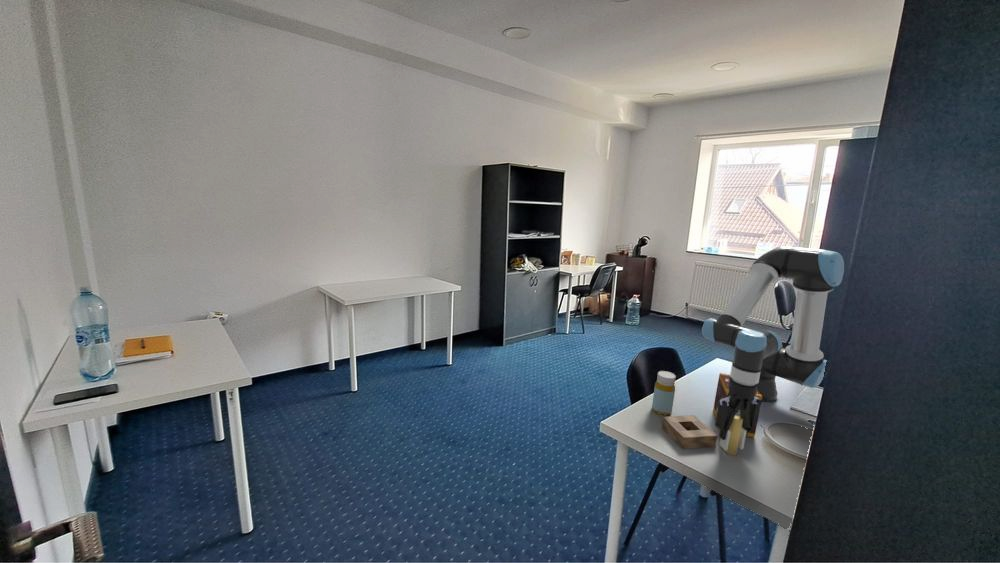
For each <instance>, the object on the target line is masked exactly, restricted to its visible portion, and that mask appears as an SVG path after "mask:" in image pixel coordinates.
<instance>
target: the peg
mask: <svg viewBox="0 0 1000 563" xmlns="http://www.w3.org/2000/svg"><path fill="white" fill-rule="evenodd" d="M742 422H743V419H742V418H741V417H739V416H735V417H734V419H733V421H732V424H731V426H730V428H729V431H730V432H731V433H730V439H729V444H728V450H724V449H723V450H724V452H725V453H726V454H728V455H731V456H736V455H737V451H738V448H739V447H738V443H739V438H740V432H741V427H742Z"/></svg>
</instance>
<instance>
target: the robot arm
mask: <svg viewBox="0 0 1000 563" xmlns="http://www.w3.org/2000/svg"><path fill="white" fill-rule="evenodd" d="M748 272H749V273H748V275H747V276H746V278H745V279H744V280H743V282H742V284H741V285H740V286H739V288H737V290H736V292H735V293H734V295H733V296H732V298H731V299H730V300H729V301H728V303H727V305H726V306H725V307H724V309H722V311H721V313H720V314H719V315H718V317H716V318H712V317H711V318H710V317H709V318H708V319H706V320H705V321H704V322H703V325H702V328H701V334H702V336H703V338H705V339H707V340H708V341H711V342H714V343H718V344H721V345H724V346H727V347H731V348H734V350H733V357H732V362H731V367H730V368H731V369H730V373H729V375H730V378H729V384H728V390H729V393H728V395H727V397H726V398H724V399H722V398H719V399H718V403H719V406H718V412H717V417H716V416H715V418H716V419H715V422H714V423H715V424H714V425H715V426H716V427H717V428H718V429H719V435H718V436H719V438H720V439H719V446H720V447H721V448H722V449H723V450H728V444H729V439H730V433H731V432H730V431H729V428H730V426H731V424H732V421H733V419H734V417H735V414H736V413H738V411H739V409H740V417H741V418H742V419H743V422H742V427H741V432H740V438H739V443H738V448H739V449H740V450H744V448H745V447H744V446H745V443H746V442H745V441H746V439H747V437H748V436H747V434H748V431H749V432H751V431H752V429H751V428H755V426H756V420H757V415H758V410H759V406H760V404H761V405H762V402H773V401H776V400H777V398H778V390H777V385H776V384H777V383H776V377H778V378H781V379H784V380H787V381H790V382H793V383H796V384H798V385H800V386H805V387H808V388H811V389H815V388H817V387H819V385H820V384H821V382H822V381H823V379H824V378H823V377H825V376H824V372H825V366H826V362H827V361H828V360H827V359H824V352H823V351H821V350H820V347H821V346H820V345H821V340H822V334H823V333H822V332H823V327H824V319H825V313H826V307H827V300H828V293H830V292H832V291H834V290H835V287H838V286H840V284H841V283H842V281H843V276H844V274H845V261H844V258H843V256H842V254H841V253H839V252H838V251H832V250H828V249H827V250H826V249H820V248H809V247H798V246H791V245H790V246H789V245H788V246H787V245H785V246H780V247H776V248H773V249H771V250H769V251H767V252H766V253H763V254H762V255H761V256H759V257H758V258H757V259H756V260H755V261H753V263H752V264H751V266H750V267H749V270H748ZM780 278H784V279H788V280H792V287H793V288H794V289H795V290H796V295H795V296H796V297H795V305H794V306H795V307H794V313H793V320H792V321H793V323H792V330H791V331H792V332H791V340H790V344H789V345H787V346H786V347H783V342H782V341H783V340H782V338H781V337H780V335H779V334H778V333H776V332H774V331H772V330H762V331H759V330H756V329H752V328H748V327H744V326H743V325H744V323H745V322H746V320H747V319H748V317H749V316H750V314H752V311H754V309H755V307H756V306H757V304H759V302H760V300H762V297H763V295H764V294H765V293H766V291H768V289H769V287H770V286H771V285H772V284H773V283H776V282H777V281H778V280H779V279H780ZM757 390H758V391H759V393H760V394H761V396H762V400H760V399H759V398H757V397H756V396H755V395H756V392H757ZM760 407H761V406H760Z"/></svg>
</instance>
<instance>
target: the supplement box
mask: <svg viewBox="0 0 1000 563" xmlns="http://www.w3.org/2000/svg"><path fill="white" fill-rule="evenodd" d="M729 378H730V373H729V374H728V373H722V372H719V375H718V381H717V387H716V391H715V398H714V402H713V414H714V415H715V418H716V417H717V412H718V406H719V403H718V399H719V398H722V399H724V398H726V397H727V395H728V393H729V390H728V384H729ZM755 396H756V397H757V398H759V399H760V400H762V396H761V394H760V393H759V391H758V390H757V392H756V395H755ZM761 405H762V403H761V404H760V406H759V410H758V415H757V420H756V426H755V428H751V429H752V431H751V432H749V431H748V434H747V437H749V438H755V437H756V431H757V425H758V422H759V415H760V412H761V411H760V410H761ZM735 416H739V417H740V409H739V411H738V413H736V414H735Z"/></svg>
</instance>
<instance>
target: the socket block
mask: <svg viewBox="0 0 1000 563" xmlns="http://www.w3.org/2000/svg"><path fill="white" fill-rule="evenodd" d="M661 428H662V429H663V431H665V432H666V434H667V435H668V436H669V437H671V439H672V440H673V441H674V442H675V443H676V444H677V445H678V446H679V447H680V448H681V449H696V448H697V449H698V448H710V447H717V446H716V445H717V440H718V435H717V434H716V433H715V432H714V431H713V430H712V429H710V428H709V427H708V426H707V425H706V424H705V422H703V421H701V420H700V419H699V418H698V417H697V416H696V415H694V414H692V415H675V416H669V415H668V416H663V417H662V422H661Z"/></svg>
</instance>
